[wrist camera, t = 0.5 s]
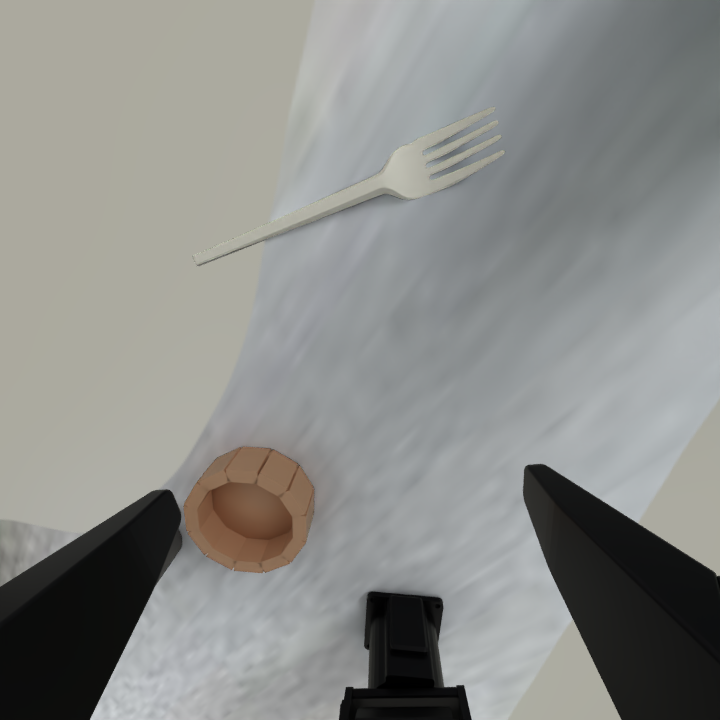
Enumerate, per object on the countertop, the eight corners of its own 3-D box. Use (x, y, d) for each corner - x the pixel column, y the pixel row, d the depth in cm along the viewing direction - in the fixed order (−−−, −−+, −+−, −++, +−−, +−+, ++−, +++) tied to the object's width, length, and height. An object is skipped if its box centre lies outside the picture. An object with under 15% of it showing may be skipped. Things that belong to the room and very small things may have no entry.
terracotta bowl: (313, 545, 29) (306, 577, 26) (209, 536, 30) (191, 566, 27) (314, 451, 27) (305, 475, 24) (200, 443, 27) (178, 465, 24)
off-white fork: (187, 237, 23) (170, 236, 22) (483, 110, 20) (493, 96, 18) (209, 284, 24) (194, 286, 22) (497, 169, 21) (507, 161, 19)
